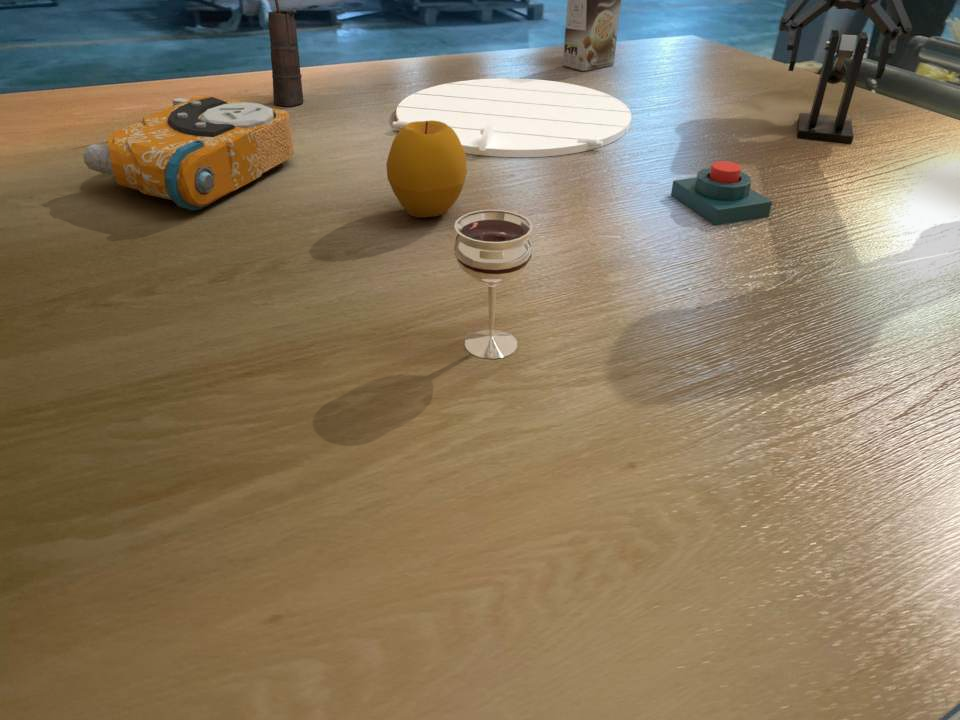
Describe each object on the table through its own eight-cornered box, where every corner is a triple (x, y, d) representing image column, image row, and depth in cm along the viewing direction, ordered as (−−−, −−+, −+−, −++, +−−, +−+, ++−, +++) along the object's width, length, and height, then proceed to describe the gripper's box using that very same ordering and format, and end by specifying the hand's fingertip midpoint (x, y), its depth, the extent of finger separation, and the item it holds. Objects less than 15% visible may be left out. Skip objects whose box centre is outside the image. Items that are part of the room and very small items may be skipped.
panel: (768, 217, 95) (776, 187, 93) (714, 226, 93) (720, 195, 91) (721, 188, 103) (727, 159, 101) (670, 196, 101) (675, 167, 98)
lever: (819, 86, 128) (823, 64, 128) (842, 88, 127) (846, 66, 127) (832, 53, 115) (837, 29, 115) (858, 55, 114) (863, 31, 114)
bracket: (797, 119, 128) (821, 25, 120) (848, 125, 126) (876, 29, 118) (797, 138, 120) (821, 38, 112) (851, 144, 118) (880, 43, 110)
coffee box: (584, 72, 152) (591, -17, 143) (561, 65, 156) (567, -21, 147) (615, 65, 157) (624, -21, 148) (592, 59, 161) (600, -25, 152)
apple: (425, 238, 90) (421, 140, 83) (372, 214, 95) (365, 120, 88) (482, 214, 95) (483, 120, 89) (429, 192, 101) (427, 103, 94)
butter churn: (333, 100, 135) (315, -82, 119) (294, 114, 128) (270, -77, 112) (296, 92, 139) (273, -85, 123) (256, 104, 132) (227, -81, 116)
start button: (744, 182, 95) (747, 169, 94) (720, 186, 94) (722, 172, 93) (727, 172, 98) (729, 159, 97) (703, 176, 97) (705, 162, 96)
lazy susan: (614, 171, 108) (617, 147, 106) (357, 144, 116) (355, 122, 114) (640, 94, 140) (643, 74, 138) (437, 77, 148) (437, 59, 146)
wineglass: (493, 316, 75) (496, 203, 68) (542, 345, 71) (550, 227, 64) (440, 341, 72) (437, 223, 65) (488, 373, 67) (490, 251, 61)
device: (39, 130, 95) (204, 74, 118) (59, 193, 100) (214, 127, 122) (178, 158, 87) (327, 92, 110) (194, 224, 92) (333, 148, 115)
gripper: (931, -24, 129) (911, 90, 126) (776, -32, 136) (754, 75, 133) (946, -56, 122) (925, 64, 119) (782, -63, 128) (759, 50, 125)
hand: (835, 70), depth 126 cm, fingers open, 13 cm apart
